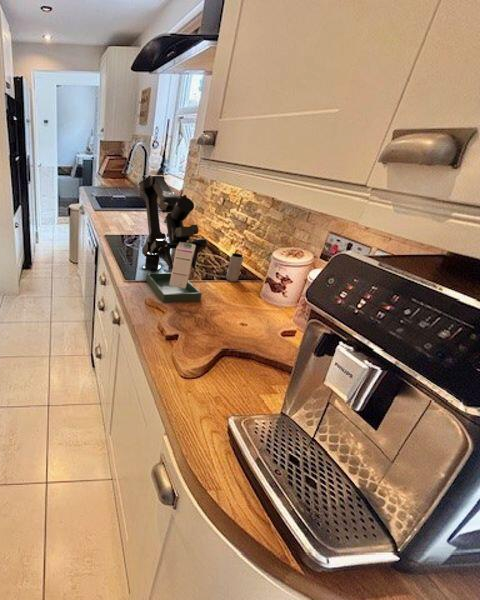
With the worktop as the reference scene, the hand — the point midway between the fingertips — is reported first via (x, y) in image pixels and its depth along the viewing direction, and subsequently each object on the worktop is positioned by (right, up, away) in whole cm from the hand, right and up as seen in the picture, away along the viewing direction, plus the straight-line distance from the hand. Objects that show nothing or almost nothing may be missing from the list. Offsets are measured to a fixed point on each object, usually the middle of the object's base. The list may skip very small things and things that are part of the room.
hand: (182, 268), depth 111 cm
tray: (-1, -7, +11) cm, 13 cm away
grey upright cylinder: (+27, -3, +21) cm, 34 cm away
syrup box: (0, -5, +4) cm, 7 cm away
